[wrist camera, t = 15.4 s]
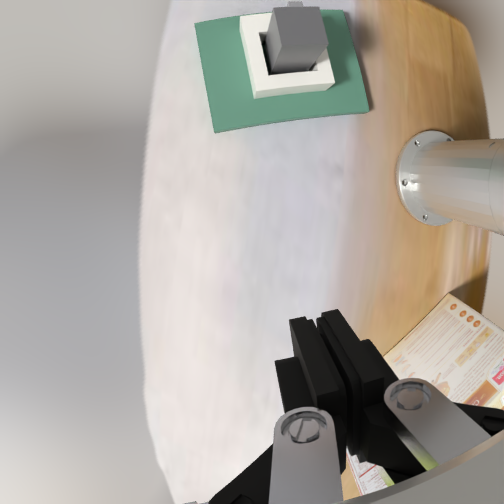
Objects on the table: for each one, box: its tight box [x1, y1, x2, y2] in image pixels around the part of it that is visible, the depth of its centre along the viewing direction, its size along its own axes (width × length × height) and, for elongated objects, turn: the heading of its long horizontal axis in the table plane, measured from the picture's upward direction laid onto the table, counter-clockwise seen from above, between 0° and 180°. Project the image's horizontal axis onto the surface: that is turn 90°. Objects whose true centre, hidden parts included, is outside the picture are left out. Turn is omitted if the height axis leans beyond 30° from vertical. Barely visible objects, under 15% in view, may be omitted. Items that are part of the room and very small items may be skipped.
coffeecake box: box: [383, 293, 504, 410], centre depth 33 cm, size 15×7×20 cm, turn 134°
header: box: [240, 13, 335, 99], centre depth 29 cm, size 8×9×4 cm
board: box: [194, 10, 370, 133], centre depth 31 cm, size 18×14×2 cm
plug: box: [263, 2, 329, 76], centre depth 26 cm, size 4×5×10 cm
